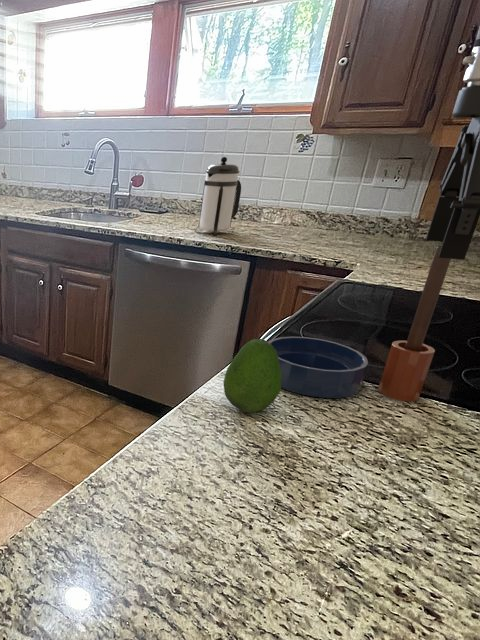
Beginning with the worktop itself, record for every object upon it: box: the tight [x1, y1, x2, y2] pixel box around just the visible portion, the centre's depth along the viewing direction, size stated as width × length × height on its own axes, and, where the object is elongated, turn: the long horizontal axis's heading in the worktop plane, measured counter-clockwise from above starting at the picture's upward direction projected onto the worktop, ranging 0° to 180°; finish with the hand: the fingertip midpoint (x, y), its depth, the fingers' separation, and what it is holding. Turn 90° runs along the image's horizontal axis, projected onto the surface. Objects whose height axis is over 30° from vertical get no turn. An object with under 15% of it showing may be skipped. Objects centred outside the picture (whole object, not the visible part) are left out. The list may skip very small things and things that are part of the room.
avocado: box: [223, 338, 282, 413], centre depth 80 cm, size 8×8×12 cm
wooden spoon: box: [404, 245, 452, 352], centre depth 80 cm, size 3×2×24 cm, turn 149°
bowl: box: [268, 336, 369, 399], centre depth 90 cm, size 15×15×6 cm
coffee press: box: [194, 156, 242, 237], centre depth 216 cm, size 17×16×30 cm
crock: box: [377, 340, 436, 402], centre depth 84 cm, size 5×6×9 cm
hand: (443, 249), depth 76 cm, fingers open, 13 cm apart
